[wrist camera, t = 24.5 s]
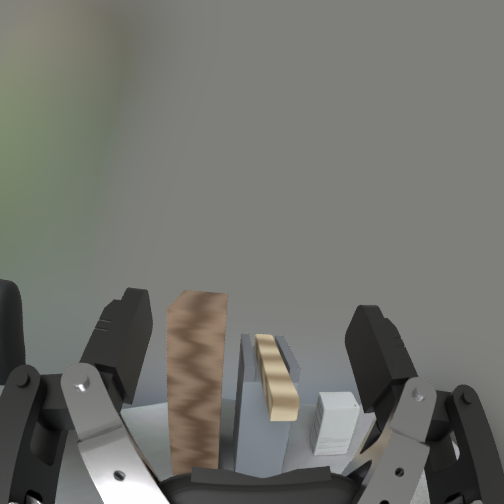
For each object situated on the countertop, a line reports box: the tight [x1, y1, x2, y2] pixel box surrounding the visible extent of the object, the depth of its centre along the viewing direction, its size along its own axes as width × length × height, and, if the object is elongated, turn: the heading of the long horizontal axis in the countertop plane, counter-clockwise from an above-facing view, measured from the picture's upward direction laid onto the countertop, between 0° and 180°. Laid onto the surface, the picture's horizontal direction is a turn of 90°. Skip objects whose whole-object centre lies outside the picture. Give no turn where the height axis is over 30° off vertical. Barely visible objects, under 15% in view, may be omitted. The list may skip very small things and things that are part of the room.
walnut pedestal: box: [167, 290, 228, 475], centre depth 46 cm, size 8×15×32 cm, turn 4°
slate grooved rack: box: [233, 334, 300, 478], centre depth 47 cm, size 8×15×24 cm, turn 4°
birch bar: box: [254, 334, 300, 421], centre depth 41 cm, size 24×3×3 cm, turn 4°
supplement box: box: [310, 392, 360, 456], centre depth 51 cm, size 7×7×13 cm
